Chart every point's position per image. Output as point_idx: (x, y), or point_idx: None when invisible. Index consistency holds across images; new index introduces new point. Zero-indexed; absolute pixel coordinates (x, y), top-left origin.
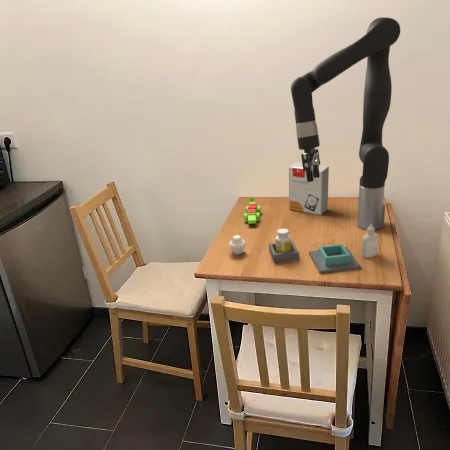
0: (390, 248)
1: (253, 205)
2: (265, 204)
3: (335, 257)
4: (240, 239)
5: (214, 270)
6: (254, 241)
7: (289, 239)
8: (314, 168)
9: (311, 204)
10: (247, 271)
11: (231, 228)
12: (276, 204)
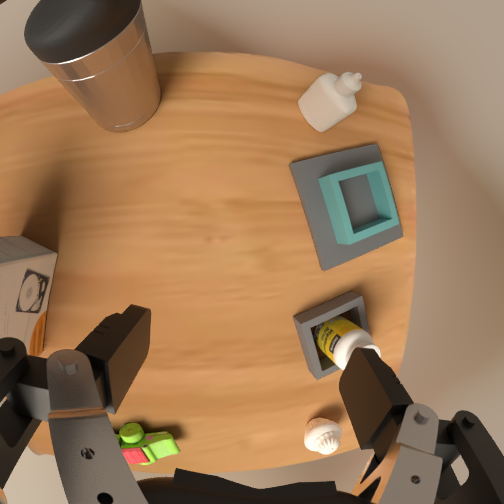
0: (270, 63)
1: None
2: None
3: (391, 199)
4: (334, 438)
5: None
6: (260, 413)
7: (365, 331)
8: (115, 394)
9: (36, 291)
10: None
11: (195, 466)
12: None
